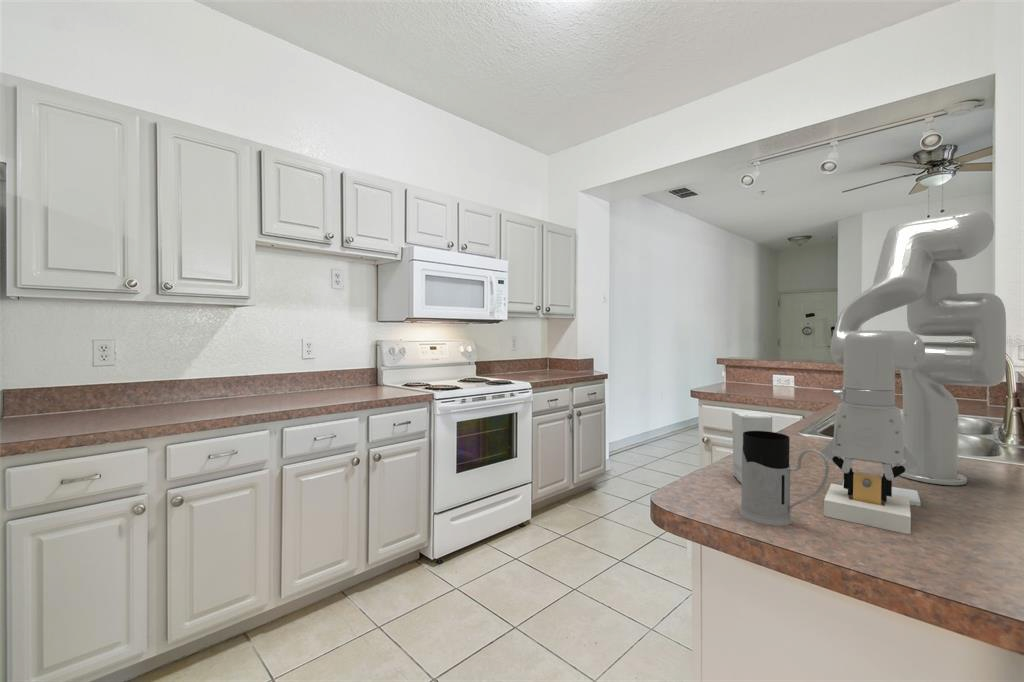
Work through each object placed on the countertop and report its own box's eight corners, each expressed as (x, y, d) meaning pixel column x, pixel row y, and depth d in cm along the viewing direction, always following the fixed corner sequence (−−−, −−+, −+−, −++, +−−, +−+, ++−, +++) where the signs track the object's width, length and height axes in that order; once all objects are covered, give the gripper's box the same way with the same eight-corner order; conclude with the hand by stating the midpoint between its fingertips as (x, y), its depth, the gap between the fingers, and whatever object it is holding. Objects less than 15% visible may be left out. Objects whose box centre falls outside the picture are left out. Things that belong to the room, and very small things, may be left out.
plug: (854, 499, 87) (854, 471, 87) (881, 505, 84) (881, 475, 85) (852, 506, 83) (852, 475, 83) (880, 511, 80) (881, 480, 80)
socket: (831, 497, 93) (831, 483, 93) (908, 513, 85) (909, 497, 85) (823, 515, 84) (824, 499, 84) (910, 534, 76) (910, 516, 76)
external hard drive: (920, 509, 88) (841, 495, 96) (916, 497, 95) (843, 484, 102) (920, 501, 88) (841, 487, 96) (917, 489, 95) (843, 477, 102)
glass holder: (750, 503, 90) (750, 428, 90) (835, 526, 79) (836, 441, 79) (730, 514, 84) (731, 434, 84) (819, 541, 73) (820, 449, 73)
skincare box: (774, 488, 98) (774, 417, 98) (741, 486, 100) (741, 416, 99) (760, 476, 107) (761, 410, 106) (730, 474, 108) (731, 409, 108)
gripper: (811, 396, 86) (810, 491, 87) (931, 405, 76) (929, 514, 76) (816, 392, 92) (815, 481, 93) (928, 400, 81) (927, 501, 82)
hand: (867, 495), depth 84 cm, fingers open, 4 cm apart
